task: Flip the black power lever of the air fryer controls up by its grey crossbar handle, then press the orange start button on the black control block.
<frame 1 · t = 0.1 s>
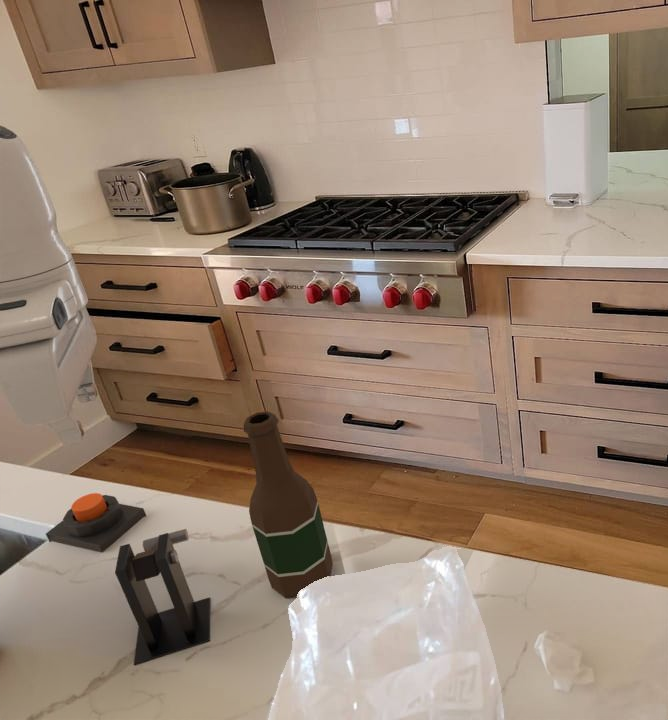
hand: (82, 418, 72), 27 cm above the countertop, tool pointing down, fingers open, 8 cm apart
power lever: (156, 552, 79), point 9 cm above the countertop, hinge at -25.0°
power switch: (176, 636, 79), on the countertop
beer bottle: (304, 582, 85), on the countertop
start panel: (100, 532, 97), on the countertop
start button: (89, 507, 95), point 5 cm above the countertop, slide at 0.1 cm
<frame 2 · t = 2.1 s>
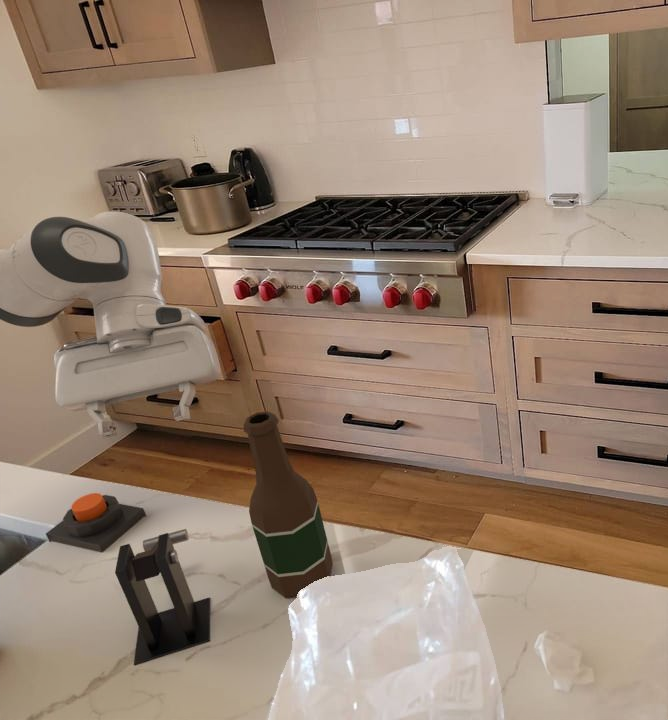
hand: (145, 428, 88), 17 cm above the countertop, tool tilted 40°, fingers open, 8 cm apart
nothing on the countertop moved.
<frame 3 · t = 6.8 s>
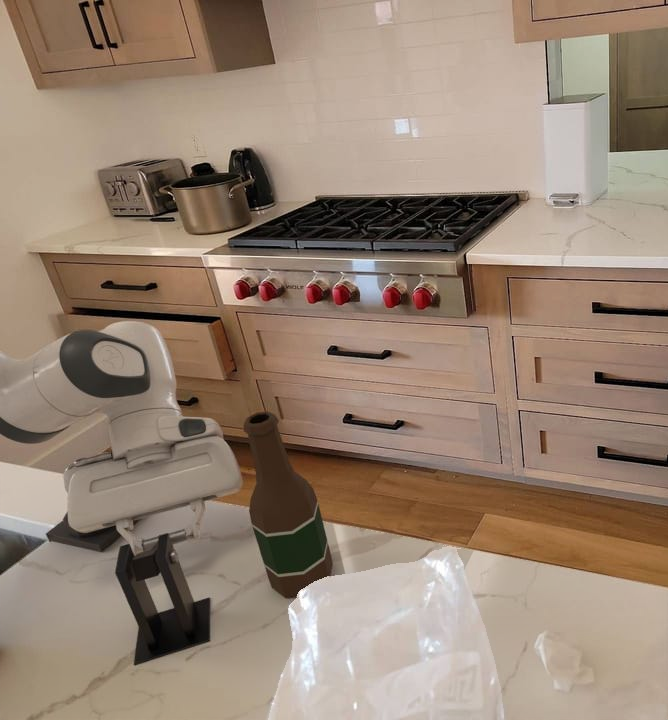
hand: (167, 547, 84), 6 cm above the countertop, tool tilted 45°, fingers closed on power lever, 5 cm apart
power lever: (156, 552, 79), point 9 cm above the countertop, hinge at -24.9°, touching gripper
everything else where it was.
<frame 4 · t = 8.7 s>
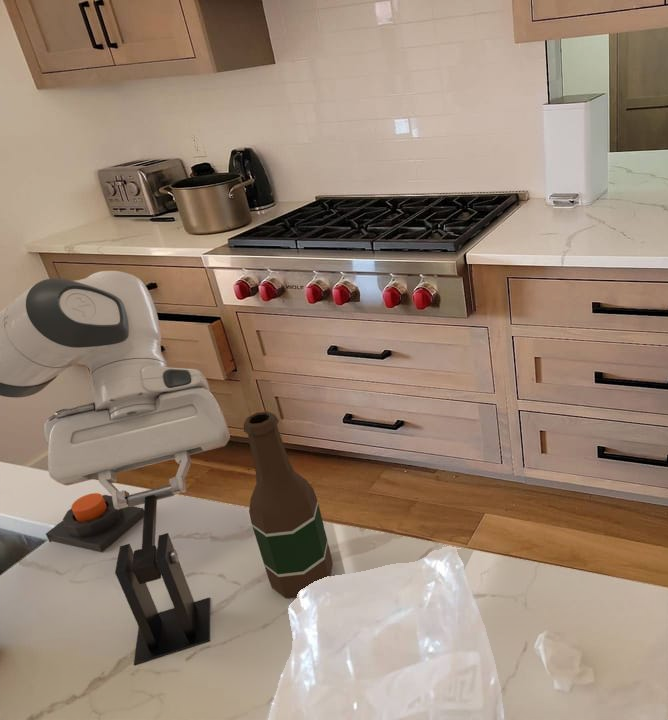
hand: (151, 499, 82), 12 cm above the countertop, tool tilted 45°, fingers closed on power lever, 5 cm apart
power lever: (149, 530, 78), point 12 cm above the countertop, hinge at 8.7°, touching gripper
everything else where it was.
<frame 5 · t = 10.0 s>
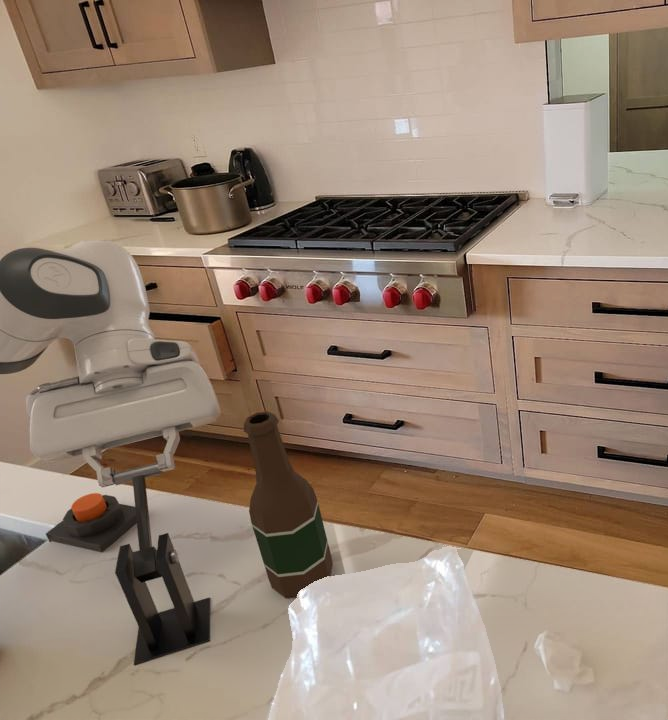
hand: (138, 477, 78), 17 cm above the countertop, tool tilted 45°, fingers closed on power lever, 5 cm apart
power lever: (143, 520, 76), point 14 cm above the countertop, hinge at 33.4°, touching gripper
everything else where it was.
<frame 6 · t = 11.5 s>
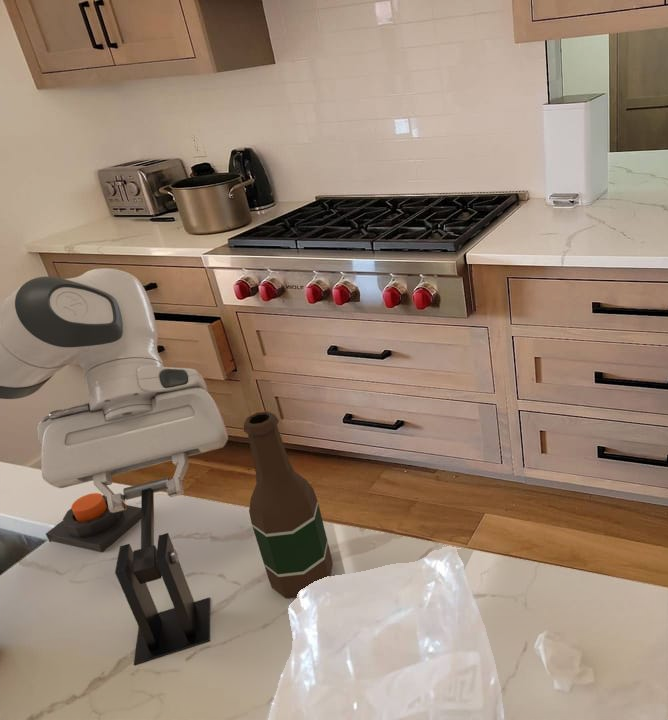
hand: (147, 502, 80), 13 cm above the countertop, tool tilted 45°, fingers open, 5 cm apart
power lever: (147, 526, 77), point 12 cm above the countertop, hinge at 15.5°
everything else where it was.
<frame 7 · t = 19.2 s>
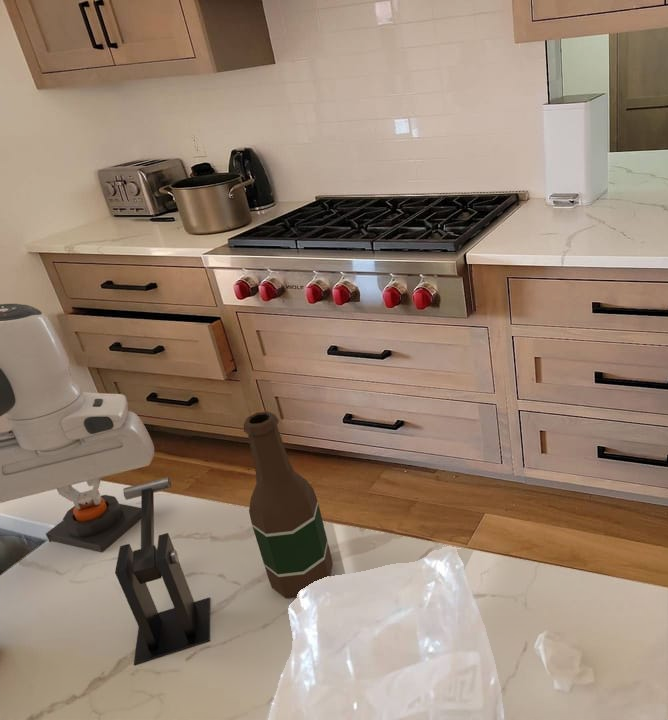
hand: (89, 504, 95), 5 cm above the countertop, tool pointing down, fingers closed, pressing on start button
start button: (91, 511, 95), point 4 cm above the countertop, slide at -0.6 cm, touching gripper
everything else where it was.
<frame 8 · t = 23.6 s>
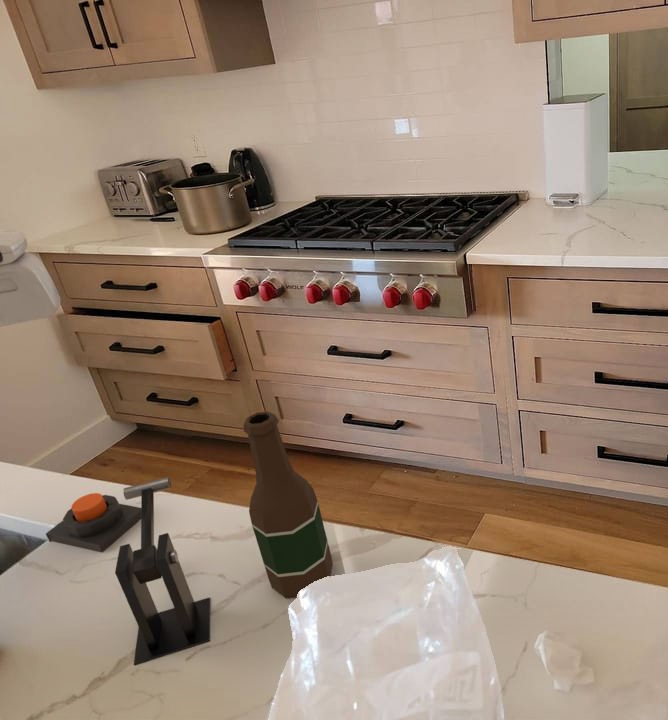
start button: (89, 507, 95), point 5 cm above the countertop, slide at 0.1 cm
everything else where it was.
at the end: power lever at +16° (first picture: -25°); start button pushed in 1.1 cm at the most during the clip, back to where it started at the end; start button slide at 0.1 cm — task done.
